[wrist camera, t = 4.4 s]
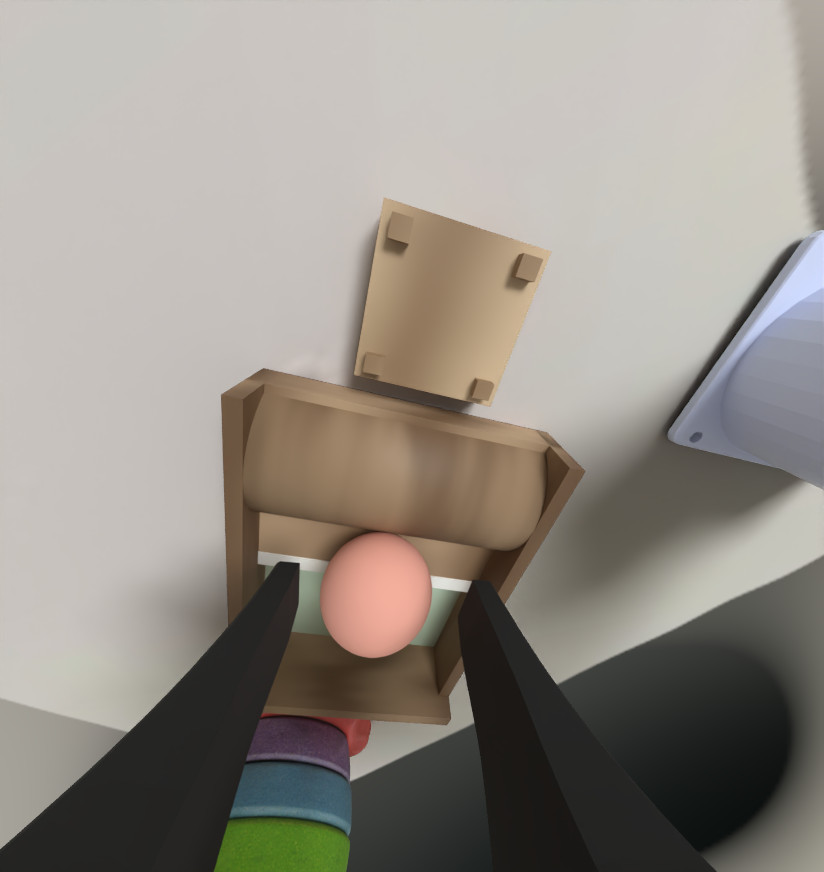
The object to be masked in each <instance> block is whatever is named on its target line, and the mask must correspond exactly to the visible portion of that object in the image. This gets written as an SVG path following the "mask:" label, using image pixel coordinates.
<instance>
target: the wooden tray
mask: <svg viewBox="0 0 824 872" xmlns="http://www.w3.org/2000/svg"><path fill="white" fill-rule="evenodd" d="M221 406H222V438H223V469H224V501H225V533H226V564H227V596H228V626H229V625H230V624H231V623H232V621H233V620H234V619H235V618H236V617H237V615H238V614H239V613H240V612H241V611H242V609H243V608H244V607H245V606H246V604H247V603H248V602H249V601H250V599H251V598H252V597H253V595H254V594H255V593H256V592H257V590H258V589H259V588H260V586H261V585H262V583H263V582H264V581H265V579H266V578H267V577H268V575H269V574H270V572H271V571H272V569H273V568H274V566H275V565H276V563H278V562H280V561H284V562H295V563H300V578H299V605H298V609H297V612H296V616H295V620H294V624H293V627H292V631H291V635H290V638H289V641H288V644H287V647H286V650H285V652H284V655H283V658H282V661H281V663H280V666H279V669H278V672H277V674H276V677H275V680H274V682H273V685H272V688H271V690H270V693H269V696H268V699H267V701H266V704H265V707H264V709H263V712H262V713H273V714H288V715H303V716H318V717H333V718H348V719H362V720H377V721H392V722H407V723H422V724H437V725H447V724H448V723H449V721H450V720H451V713H450V705H449V695H450V693H451V691H452V690H453V688H454V686H455V685H456V683H457V682H458V680H459V678H460V677H461V675H462V673H463V672H464V665H463V660H462V655H461V648H460V638H459V626H458V614H459V612H460V610H461V607H462V605H463V602H464V600H465V597H466V595H467V592H468V590H469V588H470V585H471V583H472V580H484V581H490V582H491V583H492V585H493V587H494V588H495V590H496V592H497V593H498V595H499V597H500V598H501V600H502V602H503V603H504V604H505V603H506V601H507V599H508V598H509V596H510V595H511V593H512V591H513V590H514V588H515V586H516V585H517V583H518V581H519V580H520V578H521V576H522V575H523V573H524V572H525V570H526V568H527V567H528V565H529V563H530V562H531V560H532V558H533V557H534V555H535V553H536V552H537V550H538V549H539V547H540V545H541V544H542V542H543V540H544V539H545V537H546V535H547V534H548V532H549V530H550V529H551V527H552V526H553V524H554V522H555V521H556V519H557V517H558V516H559V514H560V512H561V511H562V509H563V507H564V506H565V504H566V503H567V501H568V499H569V498H570V496H571V494H572V493H573V491H574V489H575V488H576V486H577V484H578V483H579V481H580V480H581V478H582V476H583V475H584V473H585V470H584V469H583V468H582V467H581V466H580V465H579V464H578V463H577V462H576V461H575V460H574V459H573V458H572V457H571V456H570V455H569V454H568V453H567V452H566V451H565V450H564V449H563V448H562V447H561V446H560V445H559V444H558V443H557V442H556V441H555V440H554V439H553V438H552V437H551V436H550V435H549V434H548V433H547V432H542V431H538V430H534V429H529V428H525V427H520V426H516V425H512V424H507V423H503V422H498V421H494V420H490V419H485V418H481V417H476V416H472V415H467V414H463V413H459V412H454V411H450V410H445V409H441V408H437V407H432V406H428V405H423V404H419V403H414V402H410V401H406V400H401V399H397V398H392V397H388V396H384V395H379V394H375V393H370V392H366V391H362V390H357V389H353V388H348V387H344V386H339V385H335V384H331V383H326V382H322V381H317V380H313V379H309V378H304V377H300V376H295V375H291V374H286V373H282V372H278V371H273V370H269V369H264V368H263V369H261V370H260V371H258V372H257V373H255V374H253V375H252V376H250V377H249V378H247V379H245V380H244V381H242V382H241V383H239V384H237V385H236V386H234V387H233V388H231V389H229V390H228V391H226V392H225V393H223V394H222V395H221ZM371 532H386V533H391V534H395V535H398V536H400V537H402V538H404V539H405V540H407V541H408V542H410V543H411V544H412V545H413V546H414V547H415V548H416V549H417V550H418V551H419V553H420V554H421V555H422V557H423V559H424V560H425V562H426V564H427V567H428V569H429V573H430V576H431V582H432V601H431V607H430V611H429V614H428V616H427V619H426V622H425V624H424V625H423V627H422V629H421V630H420V632H419V633H418V635H417V636H416V637H415V638H414V639H413V640H412V641H411V642H410V643H409V644H408V645H407V646H405V647H404V648H403V649H401V650H399V651H398V652H395V653H393V654H391V655H388V656H384V657H378V658H367V657H362V656H358V655H355V654H353V653H351V652H349V651H347V650H346V649H344V648H343V647H341V646H340V645H339V644H338V643H337V642H336V641H335V640H334V639H333V637H332V636H331V634H330V633H329V631H328V629H327V628H326V625H325V623H324V620H323V617H322V613H321V608H320V589H321V583H322V579H323V576H324V573H325V571H326V568H327V566H328V564H329V562H330V561H331V559H332V558H333V556H334V555H335V554H336V553H337V551H338V550H339V549H340V548H341V547H342V546H344V545H345V544H346V543H347V542H349V541H350V540H352V539H354V538H356V537H358V536H360V535H363V534H367V533H371Z"/></svg>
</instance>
